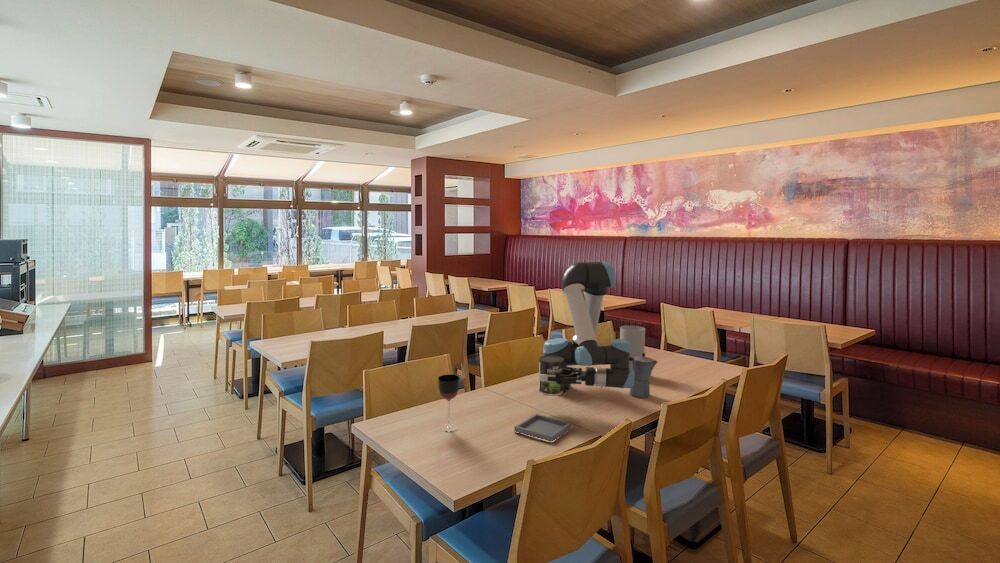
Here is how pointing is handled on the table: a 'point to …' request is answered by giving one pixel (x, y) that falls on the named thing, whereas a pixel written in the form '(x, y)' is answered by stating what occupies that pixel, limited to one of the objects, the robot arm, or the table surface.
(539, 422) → the slate tray
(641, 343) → the cylinder vase
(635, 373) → the moka pot
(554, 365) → the coffee can
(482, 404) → the table surface
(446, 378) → the wineglass
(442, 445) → the table surface
